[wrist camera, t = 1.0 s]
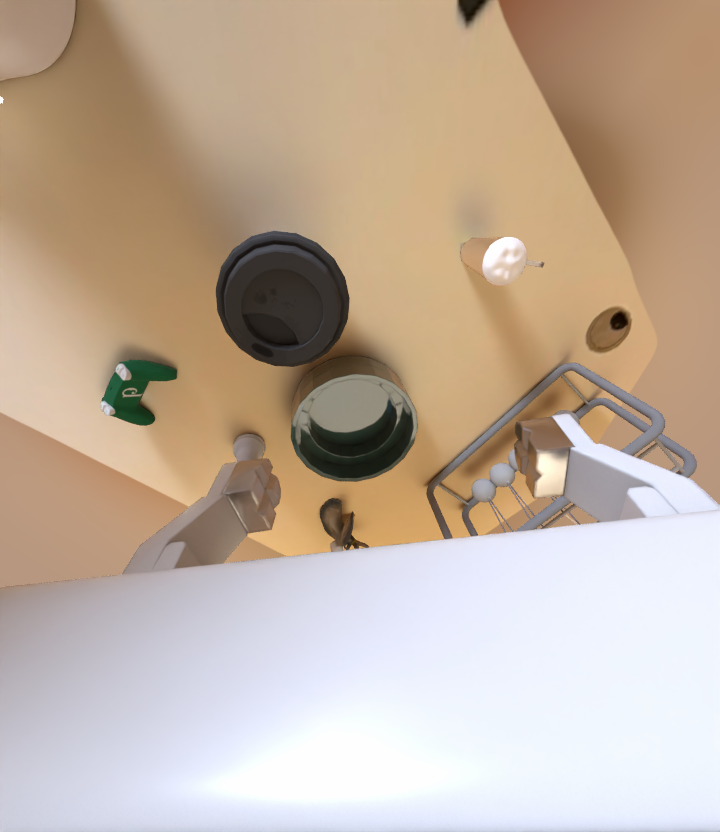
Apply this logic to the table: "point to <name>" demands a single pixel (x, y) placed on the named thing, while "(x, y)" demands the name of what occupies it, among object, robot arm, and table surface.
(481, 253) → the milkshake
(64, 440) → the table surface
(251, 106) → the table surface
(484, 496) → the newton's cradle
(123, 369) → the gaming controller
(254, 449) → the rook chess piece
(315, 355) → the coffee cup
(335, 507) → the eagle figurine
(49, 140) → the table surface
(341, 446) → the dark green pet bowl
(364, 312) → the table surface
